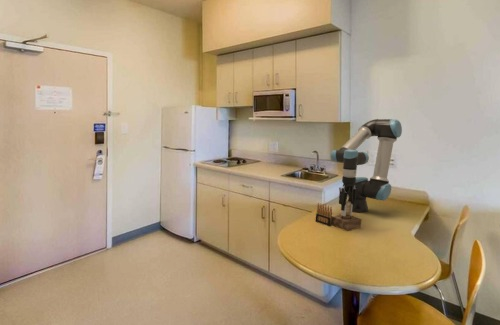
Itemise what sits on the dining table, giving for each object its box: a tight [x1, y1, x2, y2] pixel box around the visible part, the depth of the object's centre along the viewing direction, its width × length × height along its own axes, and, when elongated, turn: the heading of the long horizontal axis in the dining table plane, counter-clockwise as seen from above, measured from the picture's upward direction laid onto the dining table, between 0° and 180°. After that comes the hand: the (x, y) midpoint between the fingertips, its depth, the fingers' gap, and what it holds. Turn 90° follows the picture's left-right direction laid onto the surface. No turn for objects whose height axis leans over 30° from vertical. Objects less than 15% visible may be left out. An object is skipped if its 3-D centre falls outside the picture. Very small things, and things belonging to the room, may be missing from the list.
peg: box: [343, 200, 351, 220], centre depth 168 cm, size 4×4×12 cm
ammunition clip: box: [315, 202, 333, 227], centre depth 171 cm, size 11×2×12 cm, turn 41°
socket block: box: [332, 213, 362, 232], centre depth 169 cm, size 12×12×5 cm
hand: (346, 214), depth 168 cm, fingers open, 5 cm apart
